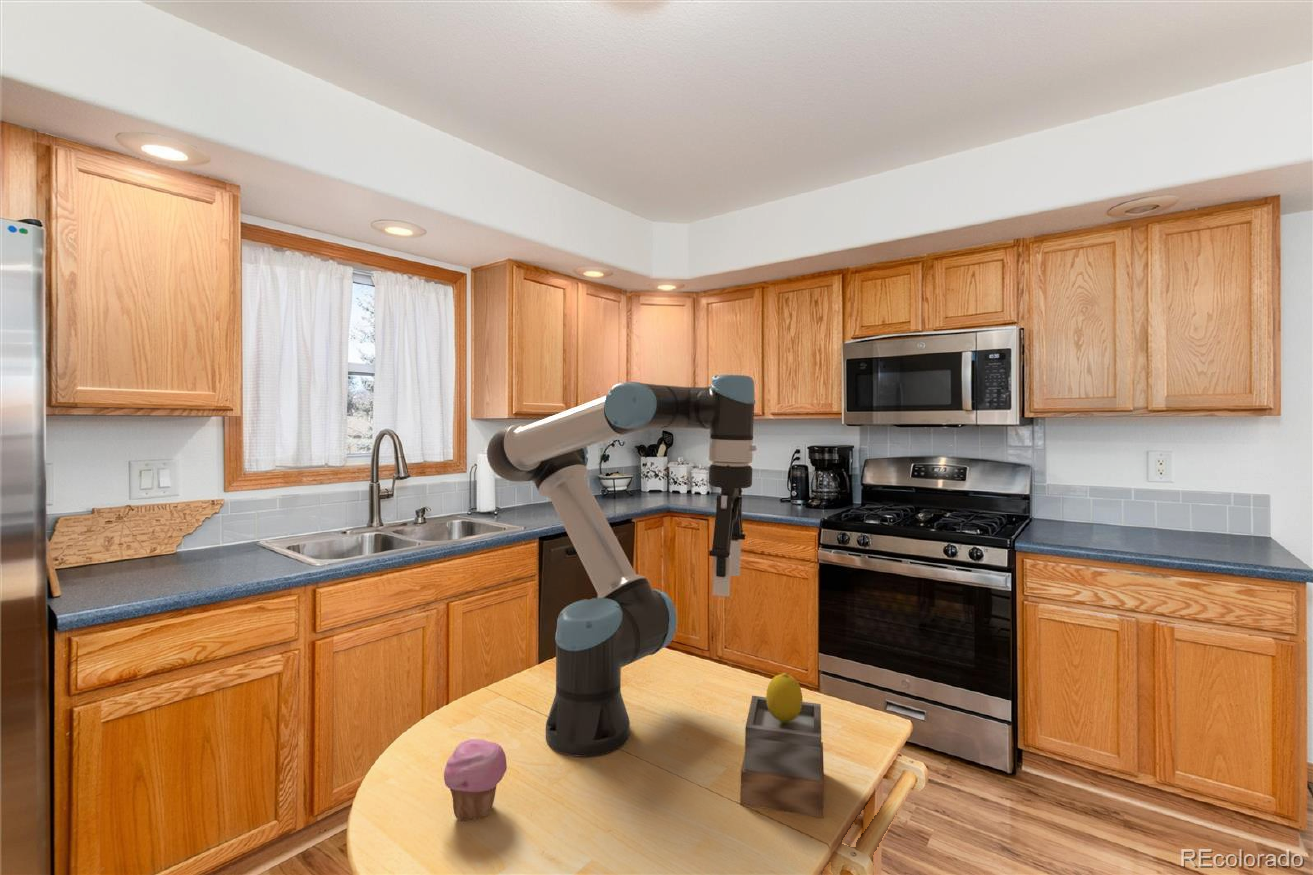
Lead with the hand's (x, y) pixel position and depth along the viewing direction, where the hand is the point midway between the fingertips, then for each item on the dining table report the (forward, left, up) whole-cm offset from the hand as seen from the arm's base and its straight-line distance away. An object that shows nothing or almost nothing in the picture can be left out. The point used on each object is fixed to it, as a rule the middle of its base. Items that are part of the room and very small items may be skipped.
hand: (727, 584), depth 109 cm
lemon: (+11, -10, -19) cm, 24 cm away
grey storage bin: (+11, -11, -28) cm, 32 cm away
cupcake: (-32, -29, -29) cm, 52 cm away
